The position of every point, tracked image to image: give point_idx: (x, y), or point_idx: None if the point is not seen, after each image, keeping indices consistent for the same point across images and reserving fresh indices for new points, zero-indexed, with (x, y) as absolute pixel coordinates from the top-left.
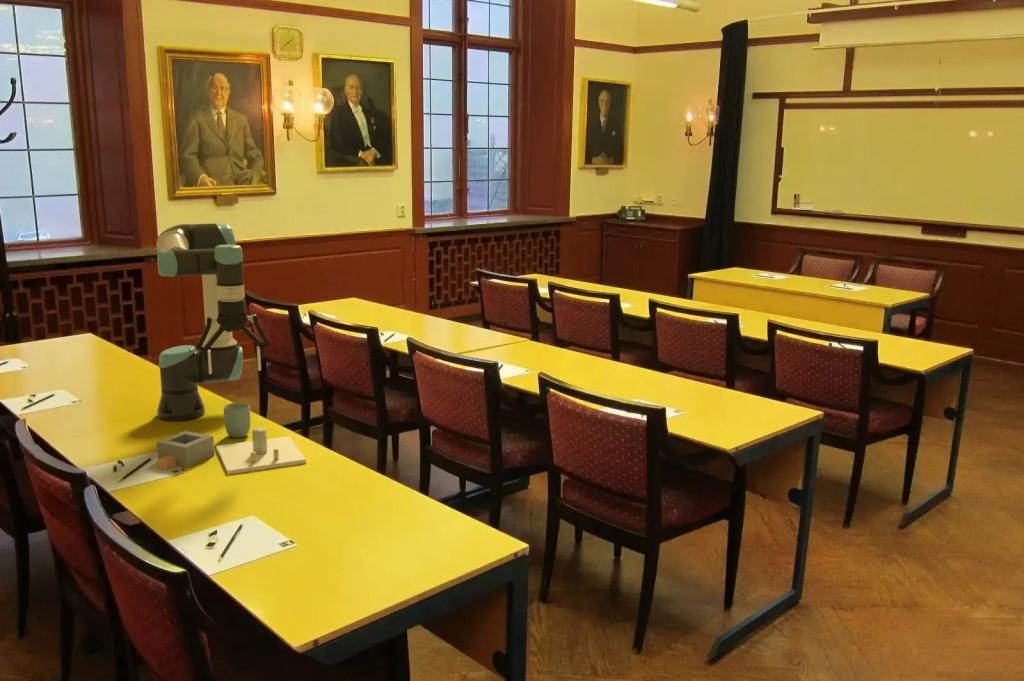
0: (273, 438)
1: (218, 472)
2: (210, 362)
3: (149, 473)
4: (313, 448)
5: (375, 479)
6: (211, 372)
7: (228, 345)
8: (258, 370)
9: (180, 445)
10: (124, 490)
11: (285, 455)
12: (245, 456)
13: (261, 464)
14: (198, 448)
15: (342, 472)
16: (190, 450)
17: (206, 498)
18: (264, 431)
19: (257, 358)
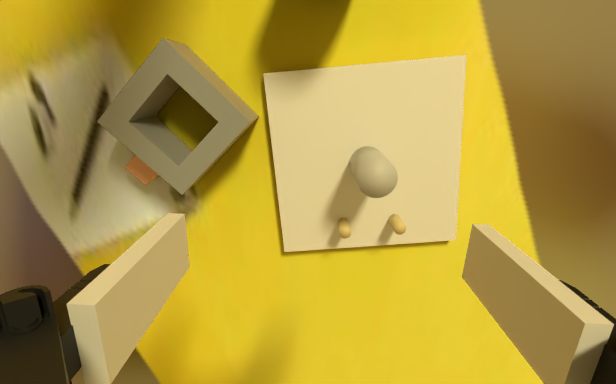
0: (419, 60)
1: (267, 229)
2: (153, 314)
3: (123, 189)
4: (498, 147)
5: None
6: (184, 271)
7: None
8: (463, 277)
9: (166, 173)
10: (93, 263)
11: (419, 202)
12: (329, 179)
13: (357, 240)
14: (215, 160)
15: None
16: (196, 180)
17: (245, 339)
18: (390, 192)
19: (509, 277)
